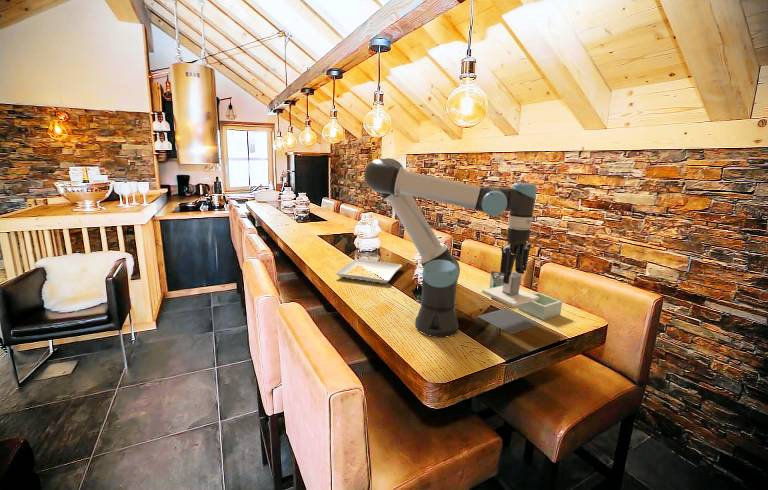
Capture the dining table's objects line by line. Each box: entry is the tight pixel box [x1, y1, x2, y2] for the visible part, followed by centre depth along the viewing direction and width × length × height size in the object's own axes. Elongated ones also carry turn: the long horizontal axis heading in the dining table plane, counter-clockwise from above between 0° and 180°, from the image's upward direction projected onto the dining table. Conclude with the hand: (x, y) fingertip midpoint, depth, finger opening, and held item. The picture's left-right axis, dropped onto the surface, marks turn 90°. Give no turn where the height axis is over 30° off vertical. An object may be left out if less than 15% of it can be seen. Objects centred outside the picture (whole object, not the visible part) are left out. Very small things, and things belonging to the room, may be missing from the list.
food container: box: [489, 270, 504, 300], centre depth 155 cm, size 12×6×10 cm, turn 168°
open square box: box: [518, 291, 563, 321], centre depth 140 cm, size 11×11×6 cm
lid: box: [481, 272, 539, 307], centre depth 129 cm, size 14×14×8 cm
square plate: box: [335, 258, 403, 284], centre depth 181 cm, size 27×27×4 cm
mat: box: [476, 307, 541, 335], centre depth 132 cm, size 16×16×1 cm
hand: (510, 290), depth 130 cm, fingers closed on lid, 4 cm apart
